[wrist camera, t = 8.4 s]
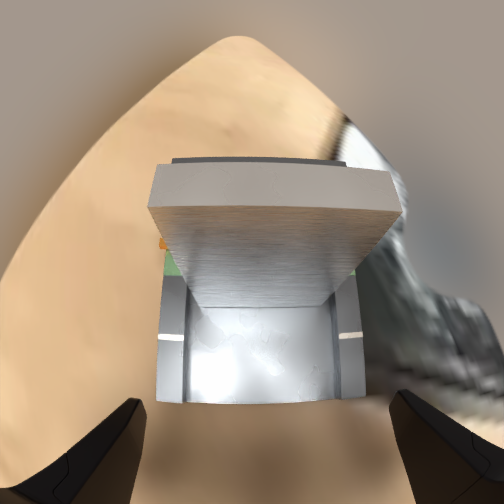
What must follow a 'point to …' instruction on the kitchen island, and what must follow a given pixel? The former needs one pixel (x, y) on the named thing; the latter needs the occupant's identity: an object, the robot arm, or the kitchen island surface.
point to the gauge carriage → (269, 228)
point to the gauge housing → (258, 341)
